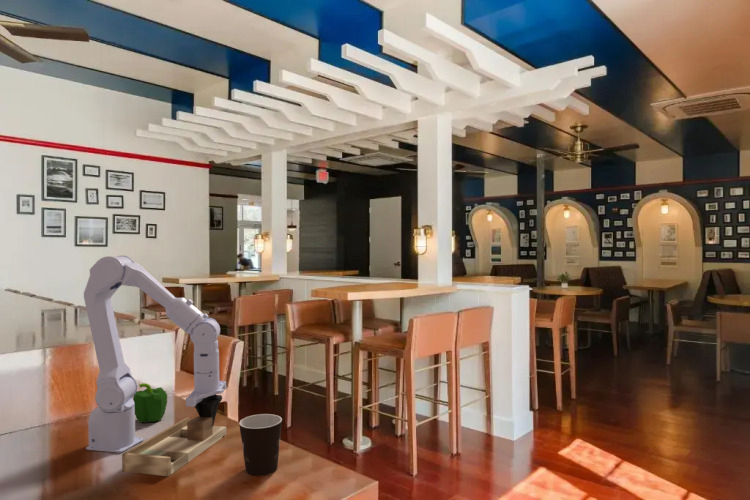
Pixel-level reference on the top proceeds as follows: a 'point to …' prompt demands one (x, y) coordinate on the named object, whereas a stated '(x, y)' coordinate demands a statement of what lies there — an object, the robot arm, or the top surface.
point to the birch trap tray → (167, 450)
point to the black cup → (261, 443)
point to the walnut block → (199, 428)
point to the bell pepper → (150, 403)
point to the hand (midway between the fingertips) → (207, 427)
